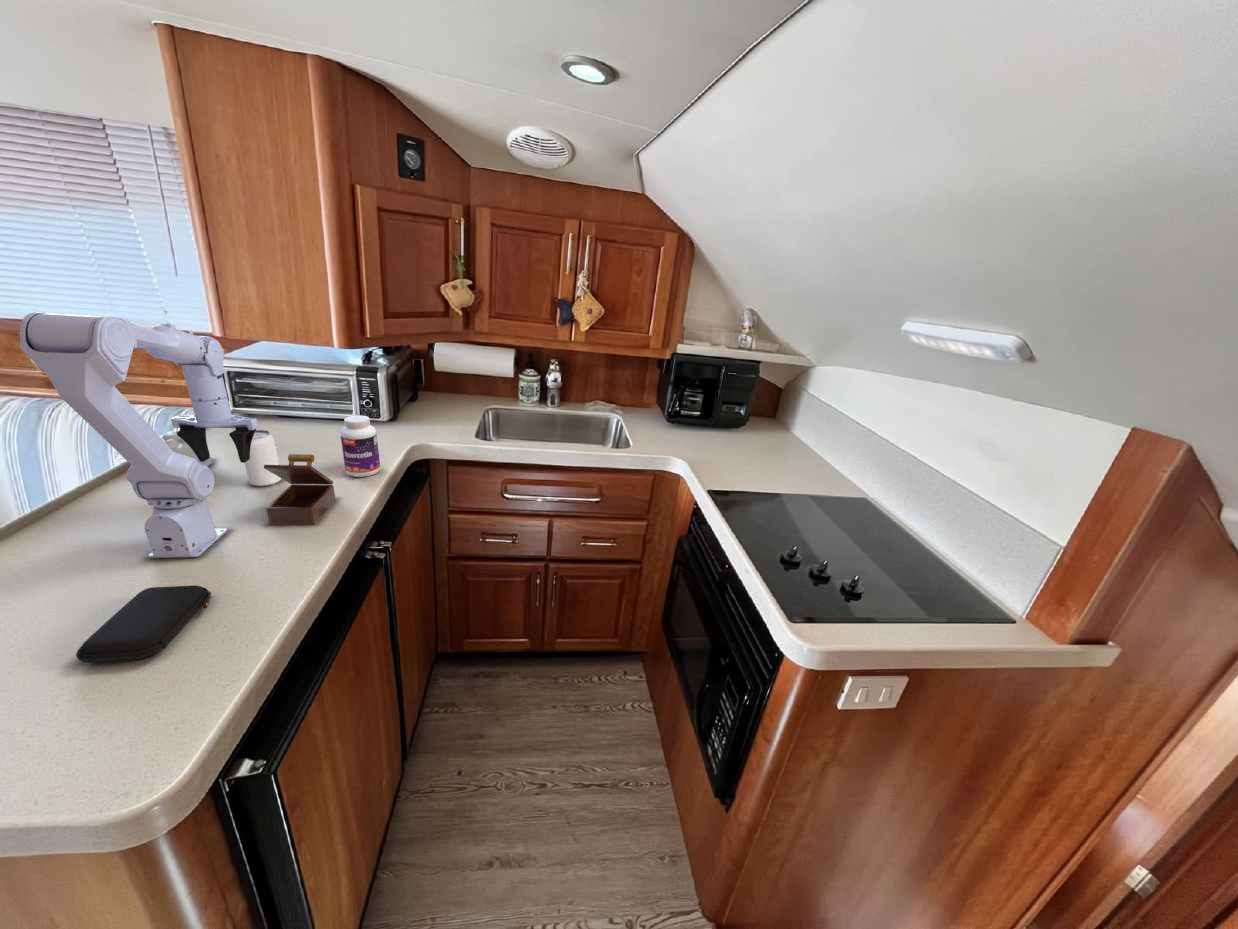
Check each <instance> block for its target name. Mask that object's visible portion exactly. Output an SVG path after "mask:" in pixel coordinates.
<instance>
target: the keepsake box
mask: <svg viewBox="0 0 1238 929" xmlns="http://www.w3.org/2000/svg"><path fill="white" fill-rule="evenodd" d="M334 487H335V486H334V484H291V485H289V486H288V487H287V488H286V489H284V491H283V492H282V493H281V494H279V495H278V497H276V498H275V499H274V500H273V501H271V503H270V504H269V505H267V506H266V507H265V511H266V515H267V520H268V524H269V525H316V524H317V523H318V522H319V521H320V519H321V518H322V517H323V515H324V514H325V513H326V512H327V511H328V509H329V508H330V507H331V506H332V504H333V503H334V502H336V500H337V499H336V494H335V488H334Z"/></svg>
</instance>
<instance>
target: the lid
mask: <svg viewBox="0 0 1238 929" xmlns="http://www.w3.org/2000/svg"><path fill="white" fill-rule="evenodd" d="M287 460H288V464H279V465H264V468H265V469H266V470H268V471H270V472H271V473H273V474H275V475H276V476H278V477H280V478H281V480H284V481H285V482H287V483H288V484H307V485H334V481H333V480H332V479H330V478H329V477H327V476H326V475H324V474H323V473H322V472H321V471H319V470H318V469H316V468H315V467H314V466H312V465H313V463H314V462H315V455H314V454H309V453H307V454H304V453H301V454H300V453H289V454H288V456H287ZM295 463H306V465H305V464H302V465H301V464H300V465H299V464H298V465H297V464H295Z"/></svg>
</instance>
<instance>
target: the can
mask: <svg viewBox="0 0 1238 929" xmlns="http://www.w3.org/2000/svg"><path fill="white" fill-rule="evenodd" d="M264 465H280V462H279V457H278V452H277V448H276V442H275V439H274V437H273V435H272V434H271V431H270V430H266V429H256V431H255V433H254V436H253V439H252V442H251V448H250V459H249V460H248V461H246V462H244V467H245V471H246V476H247V480H248V483H249V484H250V485H252V486H253V487H268V486H273V485H275V484H277V483H279V482H281V480H282V478H280V477H278V476H276V475H275V474H273V473H271V472H270V471H268V470H266V469H265V468H264Z"/></svg>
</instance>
